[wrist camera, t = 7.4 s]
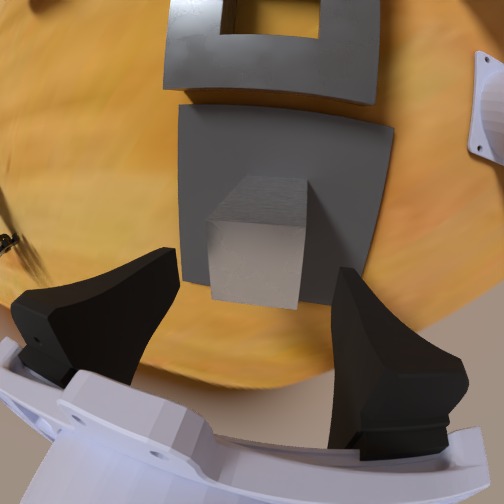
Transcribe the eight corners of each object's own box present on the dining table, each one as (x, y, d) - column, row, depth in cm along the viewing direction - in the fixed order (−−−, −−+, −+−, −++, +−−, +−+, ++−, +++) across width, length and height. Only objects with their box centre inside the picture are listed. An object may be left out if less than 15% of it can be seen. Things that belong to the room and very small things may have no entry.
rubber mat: (391, 127, 15) (394, 127, 15) (350, 303, 22) (350, 308, 22) (182, 104, 17) (178, 104, 17) (185, 276, 24) (182, 280, 24)
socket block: (369, -40, 9) (376, -59, 7) (364, 106, 15) (374, 105, 13) (198, -46, 11) (182, -62, 8) (183, 91, 17) (162, 89, 14)
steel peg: (307, 179, 18) (306, 228, 11) (303, 235, 20) (296, 309, 13) (246, 175, 18) (205, 220, 11) (246, 230, 20) (211, 299, 13)
